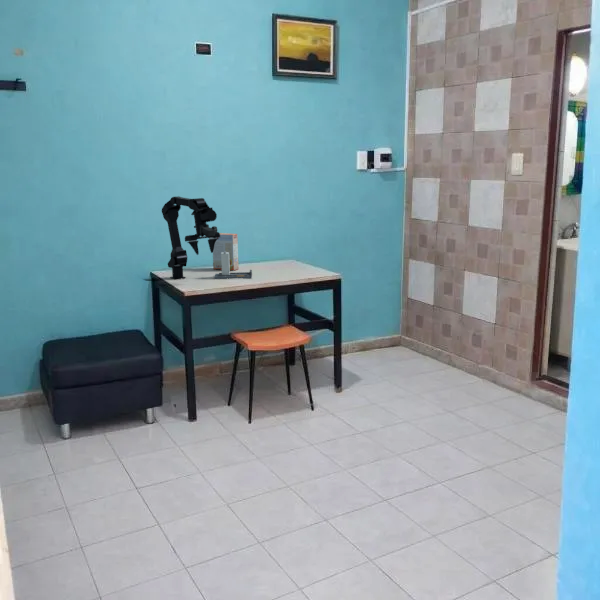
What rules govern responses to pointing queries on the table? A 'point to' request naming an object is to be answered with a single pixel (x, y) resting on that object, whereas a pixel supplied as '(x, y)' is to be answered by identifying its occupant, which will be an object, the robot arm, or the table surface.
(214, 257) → the cracker box
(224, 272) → the fader cap
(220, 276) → the fader track base
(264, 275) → the table surface
